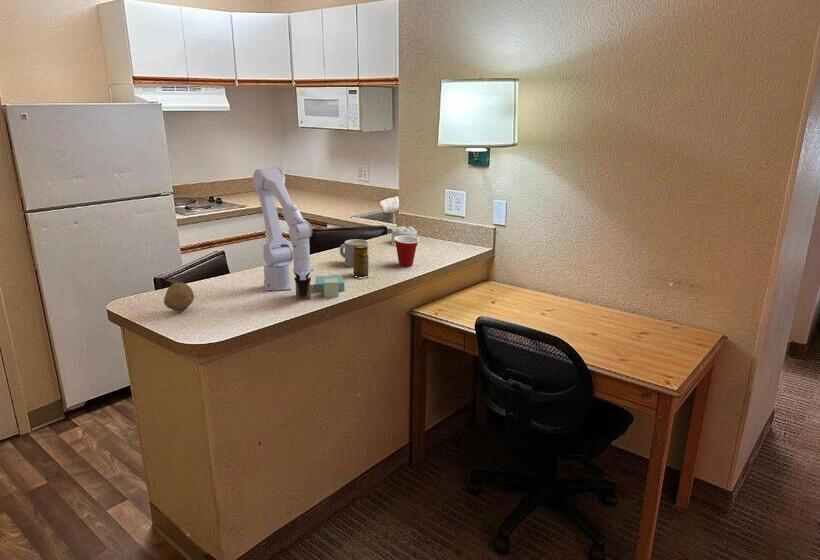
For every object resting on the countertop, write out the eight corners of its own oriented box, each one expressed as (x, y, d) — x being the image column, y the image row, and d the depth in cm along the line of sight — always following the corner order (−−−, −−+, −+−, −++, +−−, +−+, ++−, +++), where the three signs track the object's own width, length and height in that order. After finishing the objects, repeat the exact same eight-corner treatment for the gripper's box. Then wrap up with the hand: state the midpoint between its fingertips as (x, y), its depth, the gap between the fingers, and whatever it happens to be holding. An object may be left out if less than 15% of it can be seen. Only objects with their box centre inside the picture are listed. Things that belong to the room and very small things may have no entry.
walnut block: (296, 300, 203) (295, 285, 202) (296, 295, 208) (295, 281, 206) (310, 299, 204) (310, 284, 203) (310, 294, 209) (309, 280, 208)
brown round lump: (201, 311, 191) (198, 283, 188) (175, 318, 185) (171, 289, 182) (187, 305, 197) (184, 277, 194) (162, 311, 190) (158, 283, 187)
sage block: (324, 297, 206) (324, 283, 205) (323, 293, 211) (323, 278, 209) (338, 296, 207) (338, 282, 206) (337, 292, 212) (337, 278, 210)
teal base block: (317, 293, 212) (317, 284, 211) (315, 285, 221) (315, 276, 220) (344, 291, 214) (344, 282, 213) (341, 283, 223) (341, 275, 222)
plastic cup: (408, 270, 241) (409, 242, 237) (388, 265, 247) (388, 238, 243) (423, 264, 249) (424, 237, 246) (404, 260, 255) (404, 234, 252)
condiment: (365, 271, 238) (365, 243, 234) (374, 277, 231) (374, 248, 227) (349, 274, 234) (348, 245, 231) (357, 279, 227) (357, 250, 224)
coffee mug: (372, 264, 248) (372, 242, 246) (356, 269, 241) (355, 245, 238) (351, 258, 257) (351, 236, 254) (334, 263, 250) (334, 240, 247)
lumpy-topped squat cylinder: (404, 240, 292) (404, 224, 289) (422, 245, 283) (422, 228, 280) (388, 244, 285) (388, 226, 282) (406, 248, 276) (407, 231, 273)
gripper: (314, 261, 196) (315, 299, 200) (312, 251, 209) (313, 286, 213) (293, 262, 194) (294, 300, 198) (292, 251, 208) (294, 287, 212)
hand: (303, 293), depth 206 cm, fingers open, 6 cm apart
